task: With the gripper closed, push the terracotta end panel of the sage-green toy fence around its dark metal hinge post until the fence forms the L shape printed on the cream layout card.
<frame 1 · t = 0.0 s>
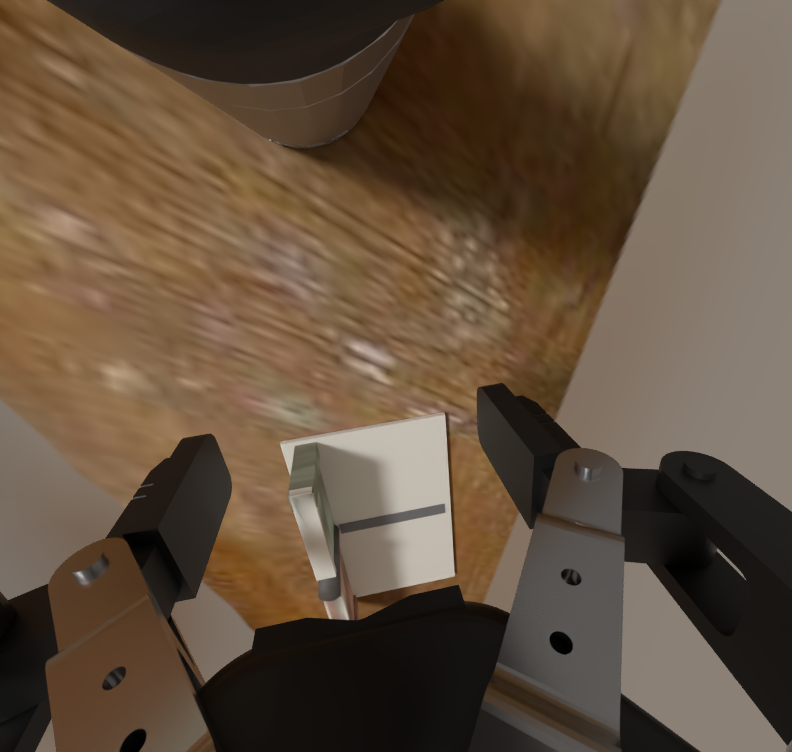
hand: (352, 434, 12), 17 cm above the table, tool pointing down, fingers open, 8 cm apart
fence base: (329, 527, 37), resting on layout card
layout card: (380, 517, 37), on the table
fence panel: (342, 601, 37), point 4 cm above the table, hinge at 0.0°
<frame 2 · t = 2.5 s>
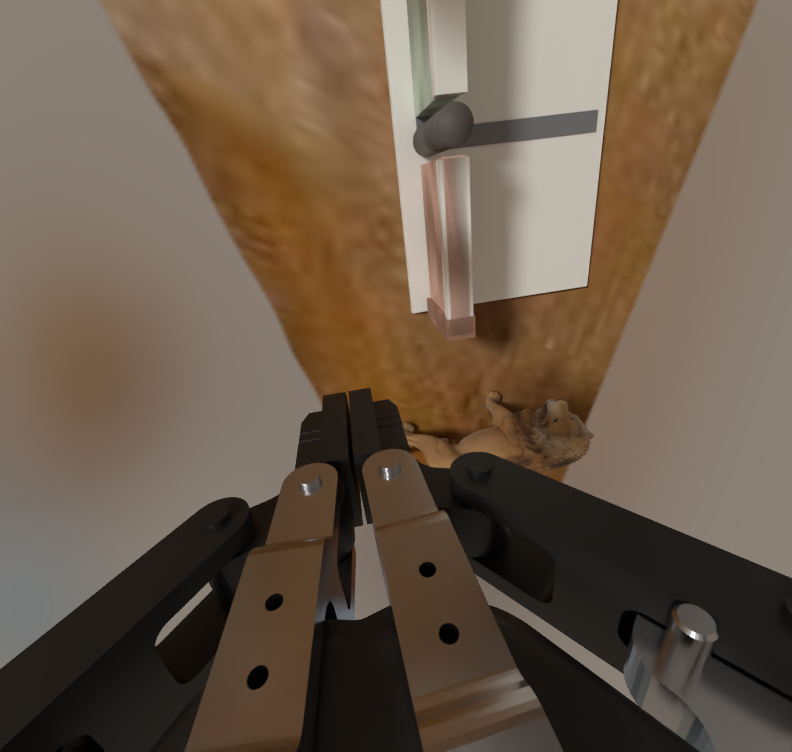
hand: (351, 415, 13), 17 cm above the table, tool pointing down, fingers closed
lion figurine: (467, 412, 34), on the table
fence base: (425, 141, 24), resting on layout card
layout card: (500, 132, 25), on the table
fence panel: (445, 250, 24), point 4 cm above the table, hinge at 0.0°
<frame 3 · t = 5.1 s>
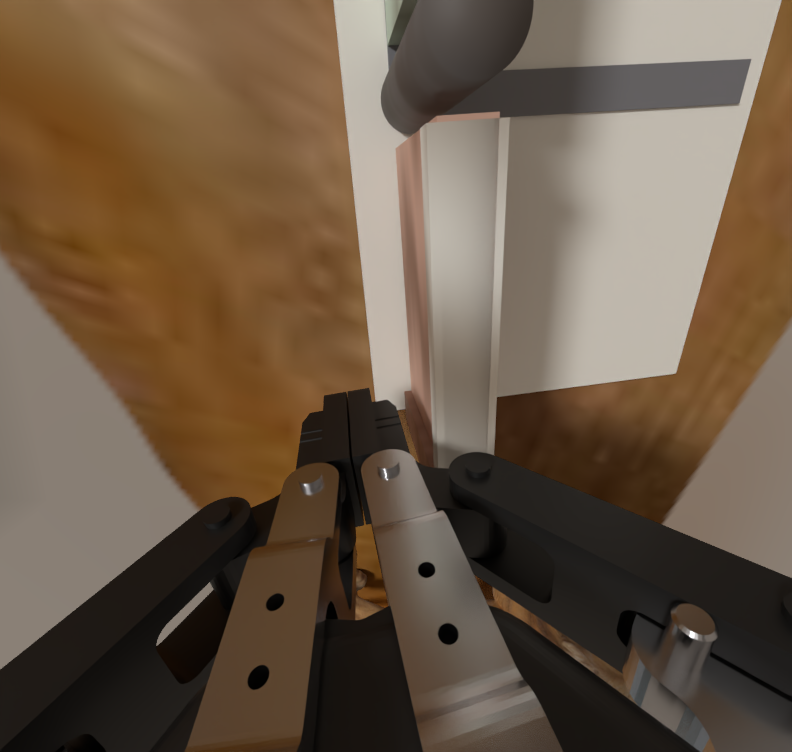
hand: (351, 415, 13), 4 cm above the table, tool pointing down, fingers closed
lion figurine: (451, 550, 22), on the table
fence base: (407, 102, 12), resting on layout card
layout card: (556, 94, 13), on the table
fence panel: (439, 325, 12), point 4 cm above the table, hinge at 0.5°, touching gripper
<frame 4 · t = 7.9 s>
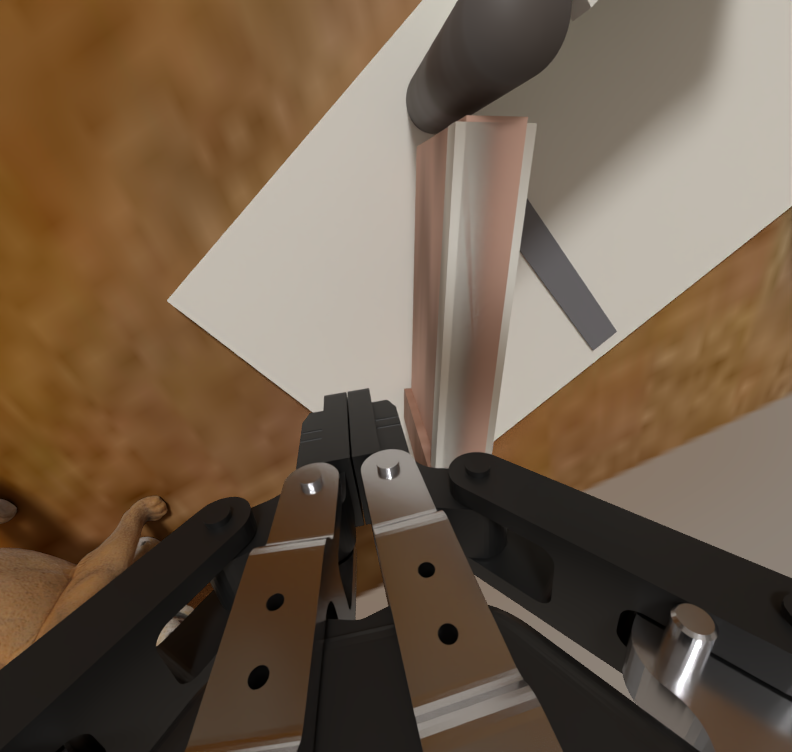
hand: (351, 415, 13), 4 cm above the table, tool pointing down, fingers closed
lion figurine: (93, 494, 17), on the table
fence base: (431, 102, 12), resting on layout card
layout card: (517, 223, 14), on the table
fence panel: (446, 325, 12), point 4 cm above the table, hinge at 46.8°, touching gripper
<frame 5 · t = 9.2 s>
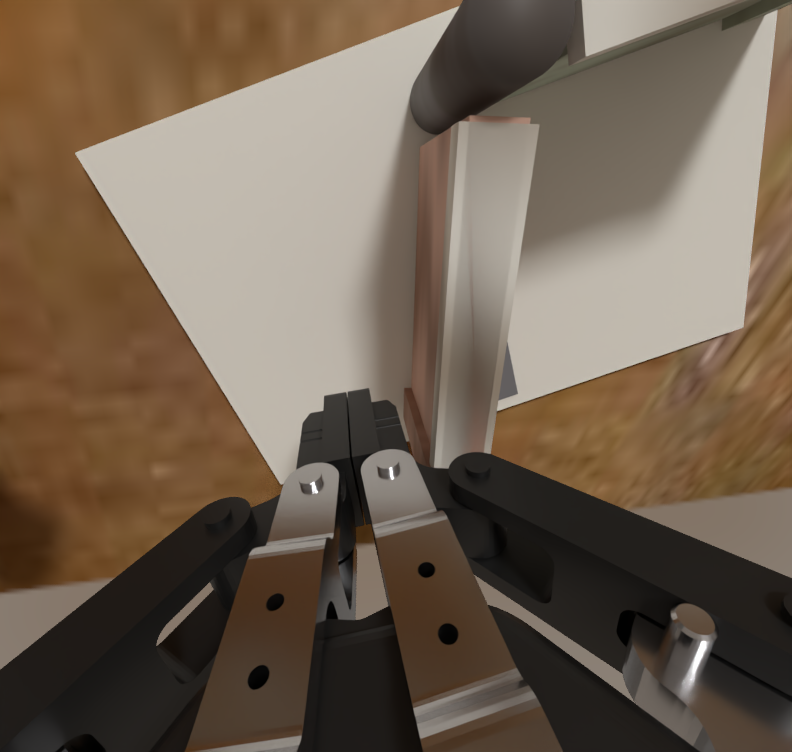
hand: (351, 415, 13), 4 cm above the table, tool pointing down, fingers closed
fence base: (435, 103, 12), resting on layout card
layout card: (469, 255, 15), on the table
fence panel: (447, 324, 12), point 4 cm above the table, hinge at 71.1°, touching gripper
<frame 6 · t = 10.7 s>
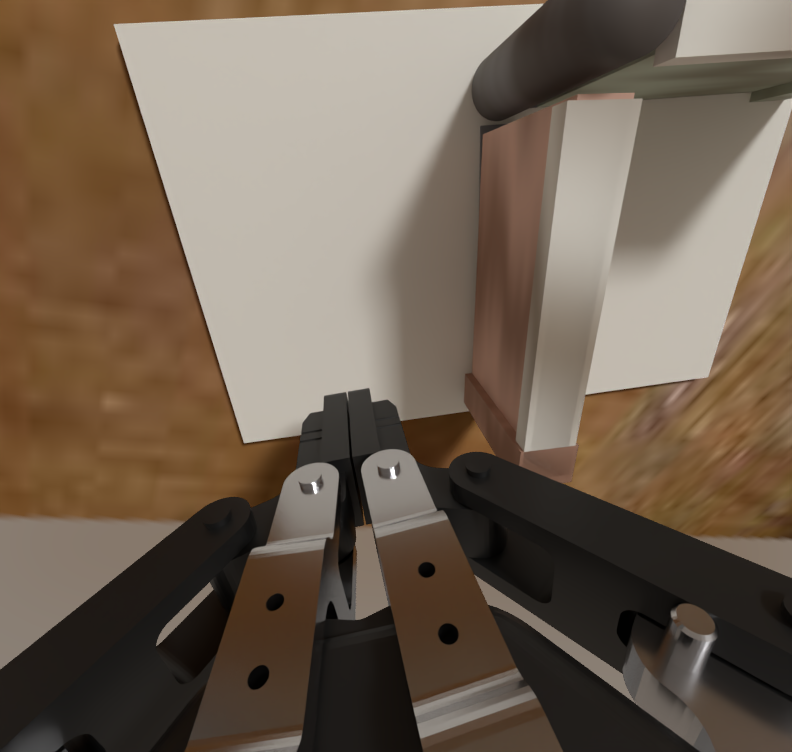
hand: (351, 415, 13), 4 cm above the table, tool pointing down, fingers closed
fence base: (494, 91, 13), resting on layout card
layout card: (489, 248, 15), on the table
fence panel: (521, 305, 12), point 4 cm above the table, hinge at 88.0°
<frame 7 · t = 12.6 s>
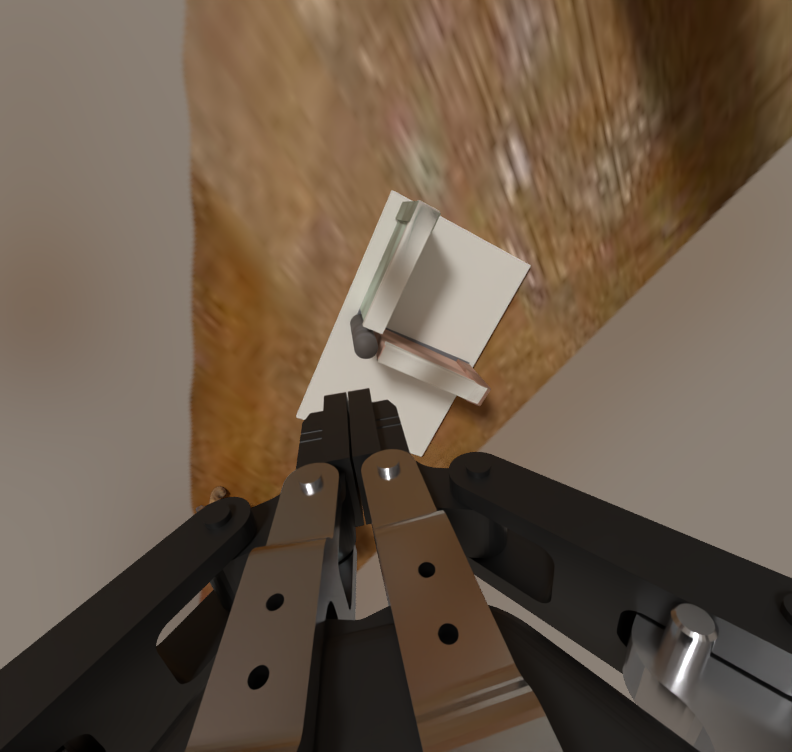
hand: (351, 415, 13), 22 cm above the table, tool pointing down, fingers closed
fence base: (359, 322, 34), resting on layout card
layout card: (408, 342, 36), on the table
fence panel: (427, 363, 33), point 4 cm above the table, hinge at 88.0°
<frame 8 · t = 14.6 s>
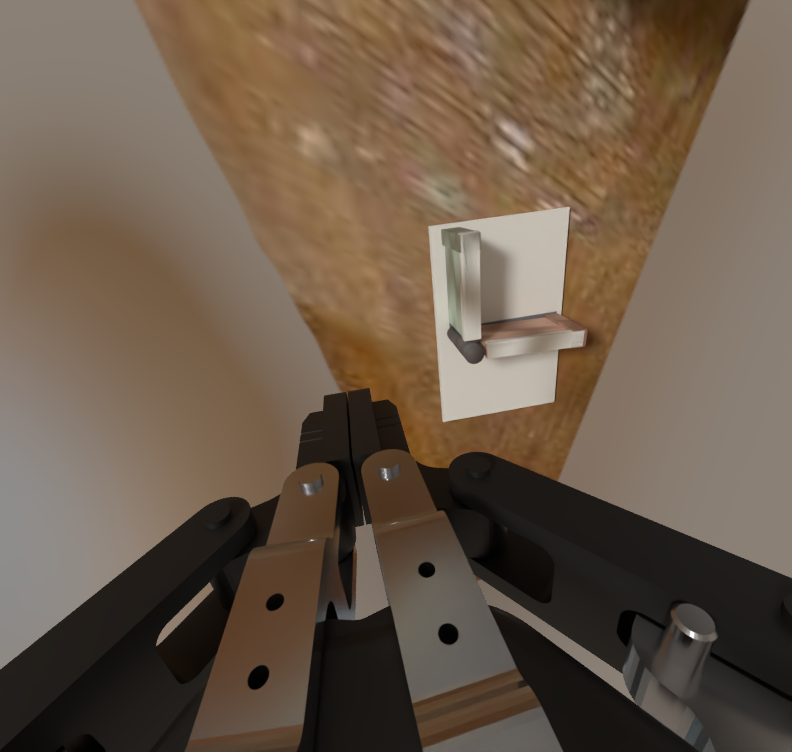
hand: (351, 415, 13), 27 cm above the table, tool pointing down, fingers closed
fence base: (454, 331, 41), resting on layout card
layout card: (498, 324, 42), on the table
fence panel: (524, 335, 39), point 4 cm above the table, hinge at 88.0°
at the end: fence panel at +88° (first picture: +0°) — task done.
